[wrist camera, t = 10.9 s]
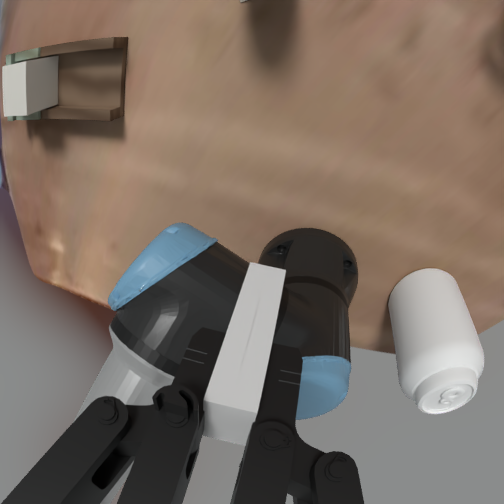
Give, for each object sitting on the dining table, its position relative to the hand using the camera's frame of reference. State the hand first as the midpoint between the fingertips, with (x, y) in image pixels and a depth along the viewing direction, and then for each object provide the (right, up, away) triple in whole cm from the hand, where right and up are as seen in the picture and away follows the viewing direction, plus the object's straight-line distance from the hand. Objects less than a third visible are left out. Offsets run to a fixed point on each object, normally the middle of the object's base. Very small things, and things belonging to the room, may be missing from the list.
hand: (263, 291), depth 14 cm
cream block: (-33, +28, +23) cm, 49 cm away
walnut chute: (-28, +28, +24) cm, 47 cm away
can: (+27, -6, +34) cm, 44 cm away
